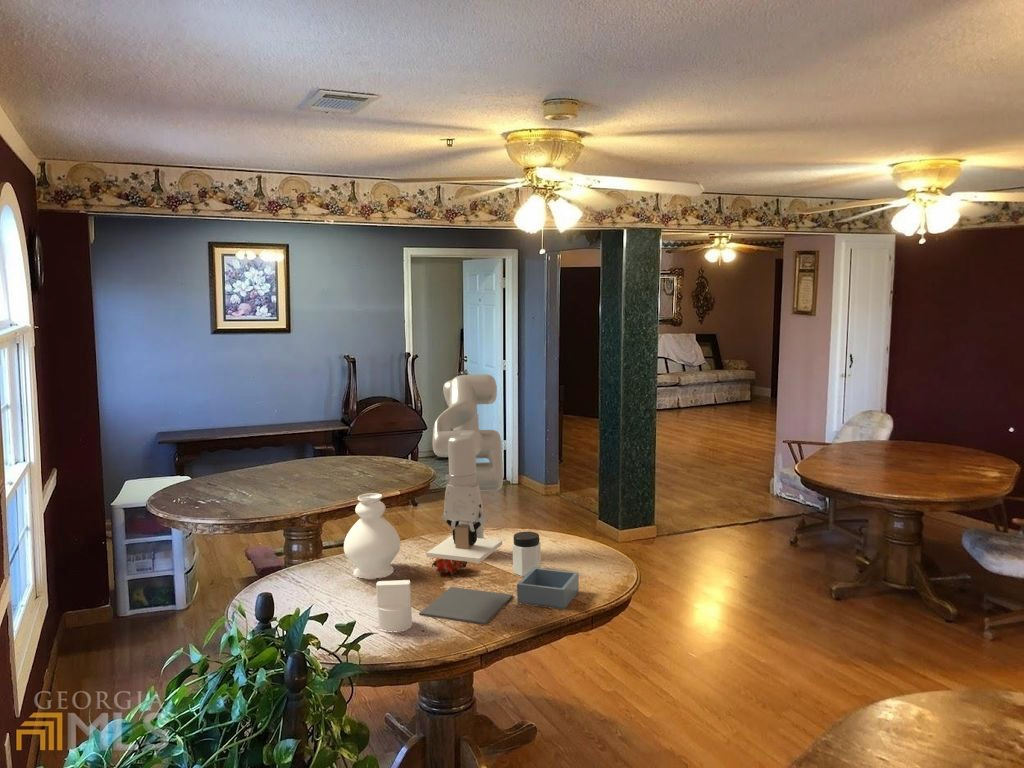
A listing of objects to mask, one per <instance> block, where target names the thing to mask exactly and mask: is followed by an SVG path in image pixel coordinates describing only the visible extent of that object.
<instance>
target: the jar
mask: <svg viewBox="0 0 1024 768" xmlns="http://www.w3.org/2000/svg"><path fill="white" fill-rule="evenodd" d="M541 550H542V549H541V542H540V535H539V533H538V532H535V531H520V532H516V533H514V535H513V544H512V573H513V574H514V575H518V576H519V575H520V577H522V578H524V577H525V576H526V575H527V574H528V573H529V572H530V571H531V570H532V569H533V568H542V556H541V555H542V551H541Z"/></svg>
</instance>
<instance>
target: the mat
mask: <svg viewBox="0 0 1024 768" xmlns="http://www.w3.org/2000/svg"><path fill="white" fill-rule="evenodd" d="M513 597H514V595H513V594H508V593H502V592H495V591H494V592H493V591H487V590H486V591H485V590H479V589H471V588H463V587H462V588H461V587H456V586H450V587H449V588H448V589H446V590H445V591H444V592H443V593H442V594H440V596H438V597H436V599H434V600H433V601H432V602H430V603H429V604H428V605H427V606H426V607H425V608H424V609H423V610H421V611H420V612H419V614H418V615H419V616H423V615H424V616H423V617H429V616H431V618H436V617H438V619H443V618H445V620H451V621H458V622H464V621H465V623H473V624H479V625H484V626H485V625H486V624H488V622H490V621H491V620H492V619H493V618H494V617H495V616H496V615H497V614H498V612H500V611H501V610H502V608H503V607H504V606H505V605H506V604H507V603H509V602H510V600H511V599H512V598H513ZM486 626H487V625H486Z"/></svg>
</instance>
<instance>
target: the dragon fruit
mask: <svg viewBox="0 0 1024 768" xmlns="http://www.w3.org/2000/svg"><path fill="white" fill-rule="evenodd" d="M467 564H468V562H467V561H458V560H449V559H440V558H435V560H434V561H433V563H432V565H431V566H432V568H433V567H435V568H436V572H437V573H439V574H442V573H443V574H447V573H450V576H451V575H454V574H456V573H459V572H460V571H461V570H462V569H465V568H467Z"/></svg>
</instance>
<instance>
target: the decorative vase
mask: <svg viewBox="0 0 1024 768" xmlns="http://www.w3.org/2000/svg"><path fill="white" fill-rule="evenodd" d="M382 498H383V495H382V494H381V493H378V492H377V493H375V492H370V493H369V492H368V493H363V494H360V495H358V496H357V501H359V502H358V504H357V505H356V506H355V514H356V515H357V516H358V517H359V519H358V520H357V521H356V522H355V523H354V524H353V526H352V527H351V528H350V529H349V531H348V532H347V534H346V536H345V539H344V541H343V551H344V554H345V556H346V558H348V560H349V561H350V562H351V563H352V564H353V565H354V566H355V569H354V570H353V576H354V575H355V576H356V577H355V576H354V577H355V578H357V577H359V578H358V579H360V578H365V579H364V580H377V579H376V578H379V579H383V578H386V577H388V576H390V575H392V574H393V573H394V567H393V566H392V565H390V564H392V562H393V561H394V560H395V557H397V555H398V554H399V551H400V549H401V538H400V536H399V533H398V532H397V530H396V529H395V527H394V526H393V525H392V524H391V523H390V522H389V521H388V520H386V518H384V517H383V516H382V515H383V514H384V513H385V511H386V505H385V503H384V502H383V501H381V499H382ZM366 578H367V579H366ZM374 578H375V579H374Z"/></svg>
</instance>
